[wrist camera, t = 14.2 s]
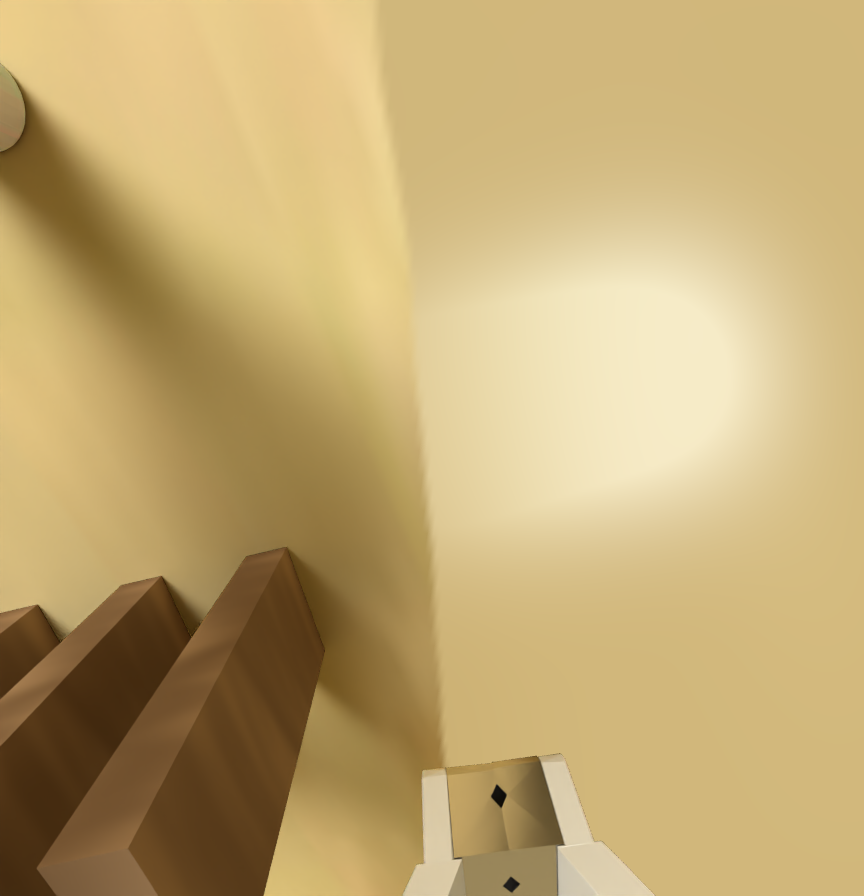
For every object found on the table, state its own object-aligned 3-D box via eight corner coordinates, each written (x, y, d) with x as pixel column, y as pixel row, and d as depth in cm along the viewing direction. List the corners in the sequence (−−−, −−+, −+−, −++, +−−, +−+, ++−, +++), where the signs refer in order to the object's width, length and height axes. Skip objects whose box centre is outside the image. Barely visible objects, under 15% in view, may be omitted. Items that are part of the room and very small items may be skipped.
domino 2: (286, 547, 17) (128, 848, 7) (324, 650, 18) (233, 1013, 9) (246, 556, 17) (36, 868, 7) (287, 659, 18) (157, 1029, 9)
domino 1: (161, 576, 17) (-156, 910, 7) (209, 676, 18) (-4, 1063, 9) (121, 585, 17) (-245, 929, 8) (172, 685, 19) (-80, 1080, 9)
